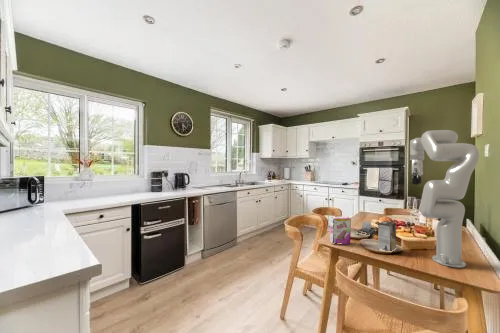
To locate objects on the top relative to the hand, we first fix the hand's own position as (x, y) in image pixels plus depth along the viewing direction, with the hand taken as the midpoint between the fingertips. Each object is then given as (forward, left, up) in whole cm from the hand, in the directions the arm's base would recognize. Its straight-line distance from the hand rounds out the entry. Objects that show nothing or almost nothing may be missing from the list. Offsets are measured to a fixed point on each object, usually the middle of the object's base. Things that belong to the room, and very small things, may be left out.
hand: (416, 183), depth 148 cm
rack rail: (-10, +27, -36) cm, 47 cm away
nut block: (-10, +27, -36) cm, 47 cm away
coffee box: (-37, +8, -36) cm, 53 cm away
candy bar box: (-44, +32, -36) cm, 65 cm away
